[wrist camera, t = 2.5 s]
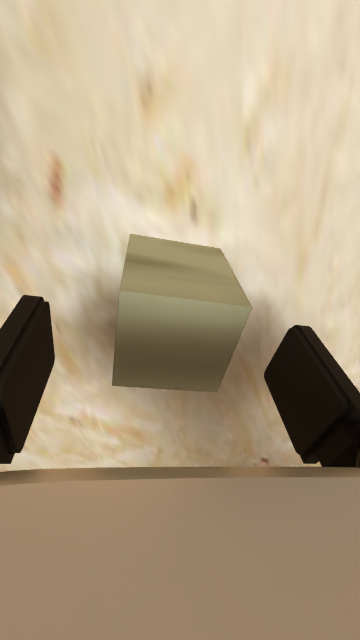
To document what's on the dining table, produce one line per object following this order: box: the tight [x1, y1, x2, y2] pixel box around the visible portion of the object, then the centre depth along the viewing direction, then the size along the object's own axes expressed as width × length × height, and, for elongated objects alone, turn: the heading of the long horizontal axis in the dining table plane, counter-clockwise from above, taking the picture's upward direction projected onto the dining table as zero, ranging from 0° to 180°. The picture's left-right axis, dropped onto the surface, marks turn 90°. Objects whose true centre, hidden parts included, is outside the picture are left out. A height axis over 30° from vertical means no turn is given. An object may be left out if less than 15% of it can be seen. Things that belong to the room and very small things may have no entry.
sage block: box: [112, 234, 252, 392], centre depth 14 cm, size 5×5×6 cm
